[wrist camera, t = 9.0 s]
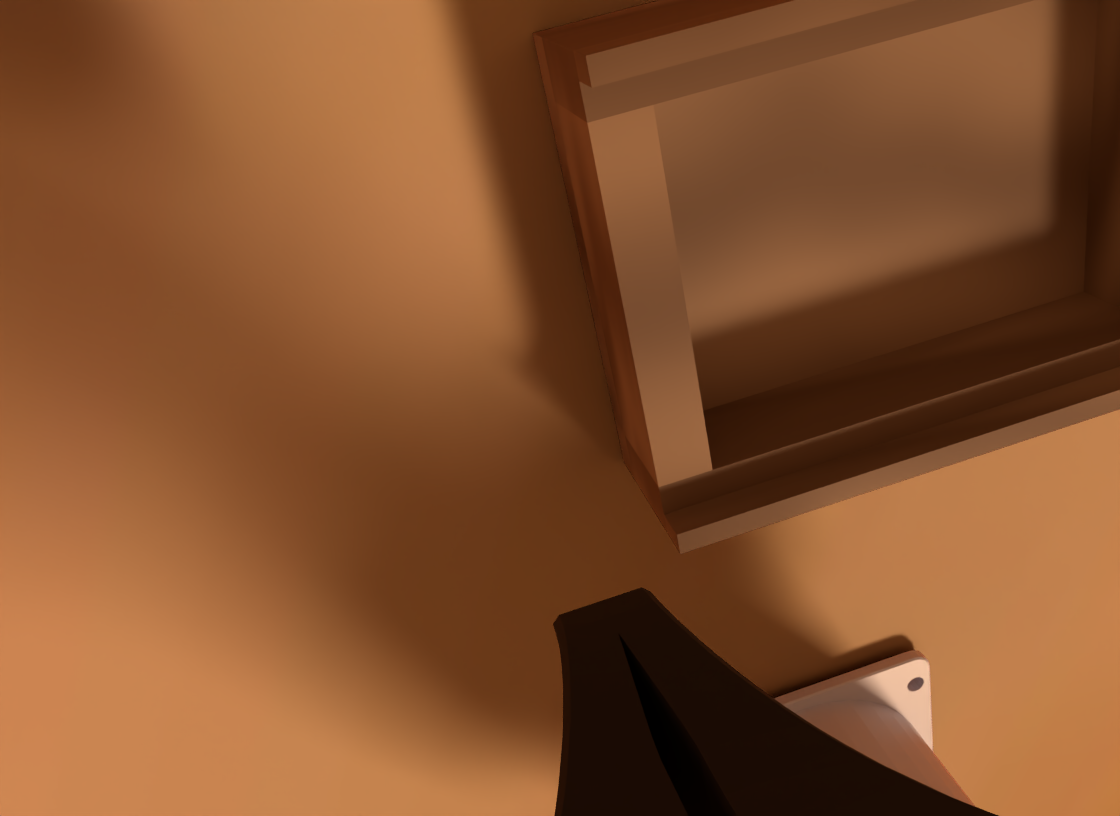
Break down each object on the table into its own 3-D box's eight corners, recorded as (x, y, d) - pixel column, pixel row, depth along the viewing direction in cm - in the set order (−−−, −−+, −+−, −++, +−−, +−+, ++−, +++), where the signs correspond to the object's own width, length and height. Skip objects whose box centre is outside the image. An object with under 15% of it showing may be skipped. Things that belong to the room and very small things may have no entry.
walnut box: (1100, 311, 25) (1231, 372, 22) (624, 462, 24) (680, 554, 20) (1126, -123, 20) (1298, -134, 17) (532, 33, 19) (585, 55, 15)
